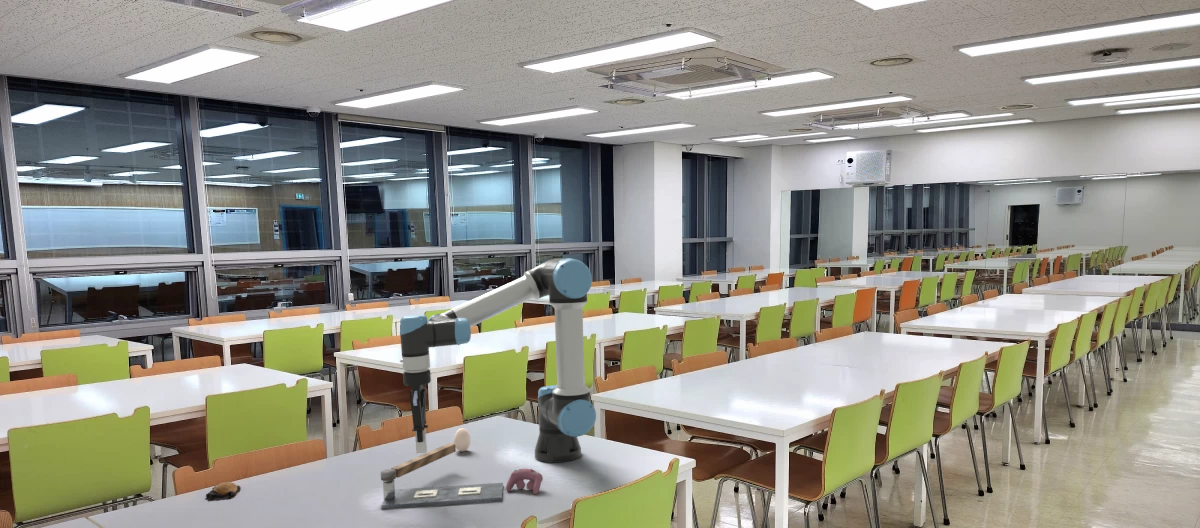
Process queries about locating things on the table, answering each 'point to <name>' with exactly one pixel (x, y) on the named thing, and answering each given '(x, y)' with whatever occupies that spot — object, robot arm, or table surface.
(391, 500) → the board
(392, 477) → the swing bar
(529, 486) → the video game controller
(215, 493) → the toy turtle
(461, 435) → the egg
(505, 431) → the table surface
